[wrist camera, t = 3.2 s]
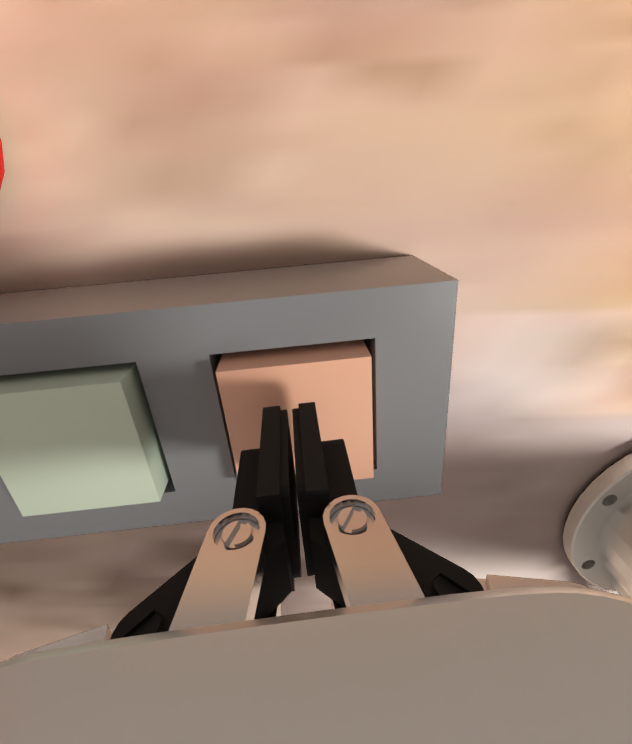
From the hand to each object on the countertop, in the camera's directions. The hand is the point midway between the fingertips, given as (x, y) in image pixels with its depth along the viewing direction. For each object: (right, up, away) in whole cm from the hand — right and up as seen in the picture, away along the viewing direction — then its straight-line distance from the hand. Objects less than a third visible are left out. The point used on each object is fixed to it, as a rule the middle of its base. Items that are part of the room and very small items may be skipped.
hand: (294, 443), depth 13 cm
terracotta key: (0, +1, +3) cm, 4 cm away
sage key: (-8, +1, +3) cm, 9 cm away
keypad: (-8, +2, +6) cm, 10 cm away
